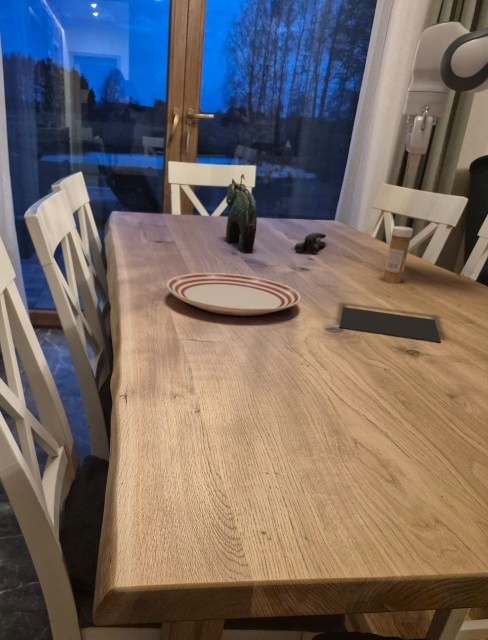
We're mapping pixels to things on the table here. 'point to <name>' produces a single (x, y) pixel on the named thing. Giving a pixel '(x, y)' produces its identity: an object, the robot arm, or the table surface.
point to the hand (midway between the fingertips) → (410, 173)
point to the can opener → (311, 243)
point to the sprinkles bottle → (397, 254)
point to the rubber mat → (389, 324)
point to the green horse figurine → (241, 216)
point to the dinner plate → (232, 293)
